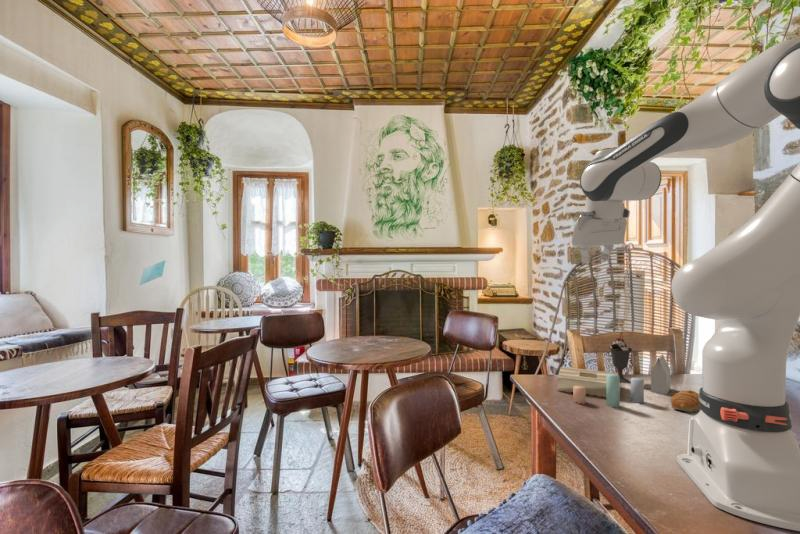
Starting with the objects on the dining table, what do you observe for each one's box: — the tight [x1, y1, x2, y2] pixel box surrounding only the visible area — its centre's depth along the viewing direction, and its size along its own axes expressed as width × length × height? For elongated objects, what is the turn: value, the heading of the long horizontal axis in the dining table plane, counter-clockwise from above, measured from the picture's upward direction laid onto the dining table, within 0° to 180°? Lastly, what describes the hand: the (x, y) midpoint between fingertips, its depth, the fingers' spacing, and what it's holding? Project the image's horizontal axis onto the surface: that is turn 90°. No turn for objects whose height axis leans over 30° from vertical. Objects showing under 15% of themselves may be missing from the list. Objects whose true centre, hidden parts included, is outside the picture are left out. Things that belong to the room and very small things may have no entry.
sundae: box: [608, 331, 633, 383], centre depth 122 cm, size 7×7×15 cm
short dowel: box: [572, 386, 587, 404], centre depth 104 cm, size 3×3×4 cm
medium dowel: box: [630, 377, 645, 404], centre depth 104 cm, size 3×3×6 cm
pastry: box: [670, 389, 701, 413], centre depth 100 cm, size 9×7×4 cm
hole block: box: [557, 366, 621, 400], centre depth 115 cm, size 12×16×4 cm
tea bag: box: [650, 353, 671, 396], centre depth 112 cm, size 4×7×10 cm, turn 137°
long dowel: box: [605, 374, 620, 409], centre depth 101 cm, size 3×3×8 cm
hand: (595, 261), depth 107 cm, fingers open, 8 cm apart
